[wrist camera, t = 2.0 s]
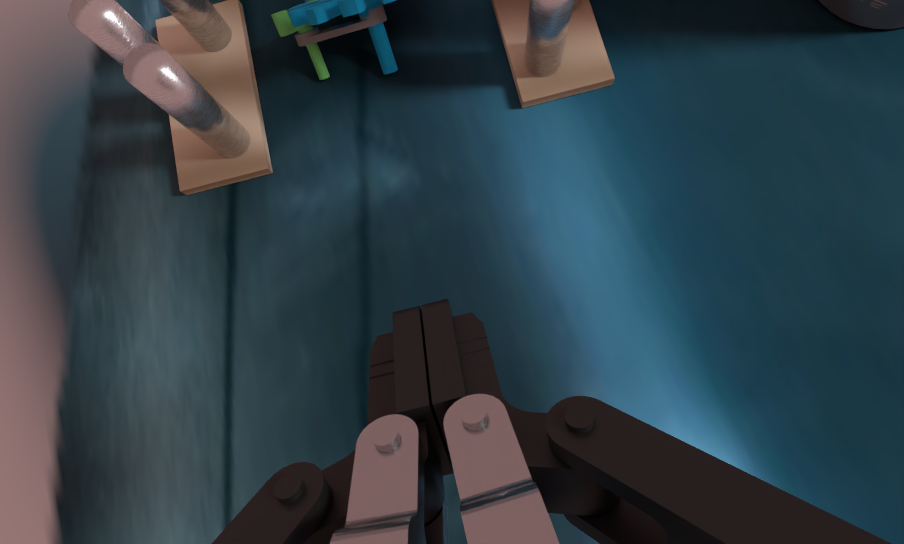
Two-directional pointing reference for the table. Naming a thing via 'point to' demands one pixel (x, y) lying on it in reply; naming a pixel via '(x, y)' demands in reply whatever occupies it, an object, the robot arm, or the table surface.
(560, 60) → the spacers
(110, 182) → the table surface
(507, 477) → the robot arm
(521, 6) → the rack
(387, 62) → the gear
